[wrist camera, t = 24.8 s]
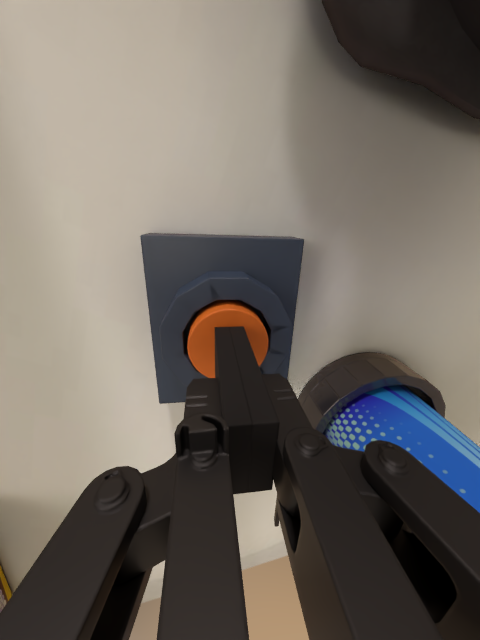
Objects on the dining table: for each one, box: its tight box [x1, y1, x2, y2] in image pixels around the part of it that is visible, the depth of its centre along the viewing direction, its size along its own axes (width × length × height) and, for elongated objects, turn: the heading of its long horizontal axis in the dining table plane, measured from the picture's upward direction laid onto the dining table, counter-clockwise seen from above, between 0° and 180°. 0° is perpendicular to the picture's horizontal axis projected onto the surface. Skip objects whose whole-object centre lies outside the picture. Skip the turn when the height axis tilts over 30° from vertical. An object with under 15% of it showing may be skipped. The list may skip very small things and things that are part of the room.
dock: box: [298, 352, 445, 433], centre depth 21 cm, size 11×11×4 cm
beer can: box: [322, 385, 480, 513], centre depth 14 cm, size 8×8×16 cm
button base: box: [141, 233, 304, 404], centre depth 16 cm, size 11×9×4 cm
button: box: [187, 300, 268, 378], centre depth 14 cm, size 4×4×2 cm
